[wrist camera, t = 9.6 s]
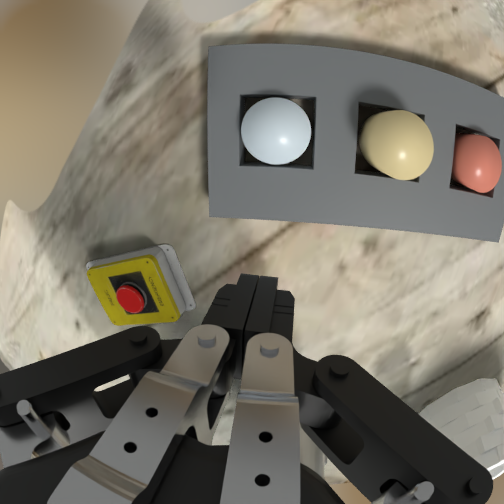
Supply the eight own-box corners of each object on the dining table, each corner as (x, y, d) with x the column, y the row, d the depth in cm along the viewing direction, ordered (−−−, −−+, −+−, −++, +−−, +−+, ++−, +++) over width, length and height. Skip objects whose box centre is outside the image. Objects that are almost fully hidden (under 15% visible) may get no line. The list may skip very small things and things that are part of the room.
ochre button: (416, 118, 20) (435, 118, 17) (411, 175, 23) (429, 184, 19) (360, 107, 21) (372, 104, 17) (356, 167, 23) (367, 175, 20)
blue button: (309, 103, 23) (312, 99, 20) (307, 161, 26) (309, 166, 22) (248, 101, 24) (241, 97, 20) (248, 158, 26) (240, 163, 23)
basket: (481, 421, 42) (499, 478, 25) (398, 450, 47) (406, 515, 30) (514, 357, 32) (550, 427, 15) (413, 397, 38) (433, 489, 21)
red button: (483, 139, 21) (504, 143, 17) (477, 187, 23) (497, 196, 20) (445, 127, 21) (465, 129, 18) (440, 179, 24) (458, 187, 20)
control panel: (501, 104, 18) (516, 104, 16) (485, 232, 25) (498, 242, 22) (217, 54, 22) (208, 46, 19) (217, 207, 29) (209, 217, 26)
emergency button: (189, 328, 31) (99, 332, 35) (199, 306, 35) (113, 315, 39) (157, 257, 28) (68, 275, 31) (173, 240, 32) (86, 261, 35)
